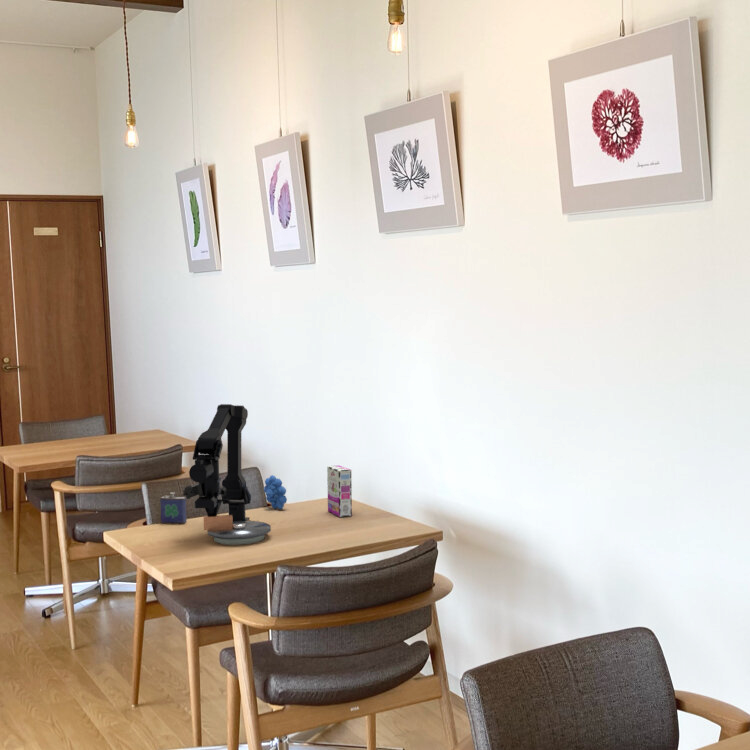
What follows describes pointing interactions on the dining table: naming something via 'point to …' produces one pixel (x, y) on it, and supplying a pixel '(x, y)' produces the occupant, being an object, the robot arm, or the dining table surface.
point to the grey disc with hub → (234, 527)
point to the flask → (173, 509)
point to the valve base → (239, 540)
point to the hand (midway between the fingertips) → (211, 523)
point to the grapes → (275, 492)
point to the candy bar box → (339, 491)
